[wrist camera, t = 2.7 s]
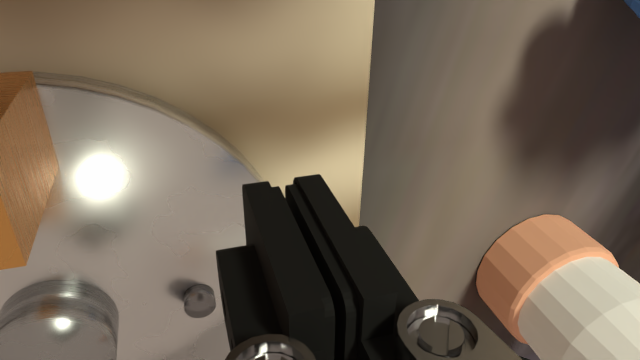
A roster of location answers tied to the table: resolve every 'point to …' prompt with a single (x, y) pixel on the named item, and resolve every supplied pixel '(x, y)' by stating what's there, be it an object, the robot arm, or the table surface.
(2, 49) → the base board
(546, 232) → the pepper shaker
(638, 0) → the grapes
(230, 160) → the flange
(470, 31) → the table surface
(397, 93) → the table surface
